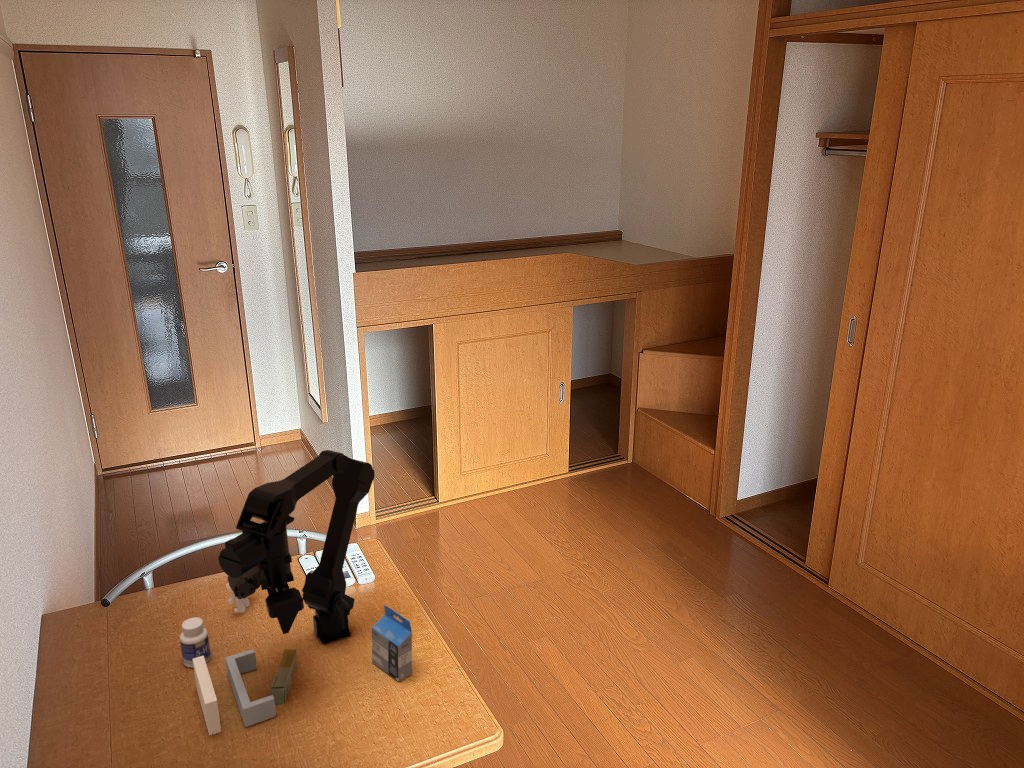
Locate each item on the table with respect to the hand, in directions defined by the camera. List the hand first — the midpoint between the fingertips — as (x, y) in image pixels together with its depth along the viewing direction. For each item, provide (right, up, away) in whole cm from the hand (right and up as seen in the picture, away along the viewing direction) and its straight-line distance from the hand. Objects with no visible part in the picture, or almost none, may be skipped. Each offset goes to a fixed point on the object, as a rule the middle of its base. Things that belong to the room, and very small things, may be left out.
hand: (280, 619), depth 147 cm
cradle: (-4, -14, -2) cm, 15 cm away
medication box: (+1, -13, +1) cm, 13 cm away
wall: (-12, -15, -6) cm, 20 cm away
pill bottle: (-19, -11, +7) cm, 23 cm away
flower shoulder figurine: (-16, -5, +24) cm, 30 cm away
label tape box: (+21, -12, +6) cm, 25 cm away
